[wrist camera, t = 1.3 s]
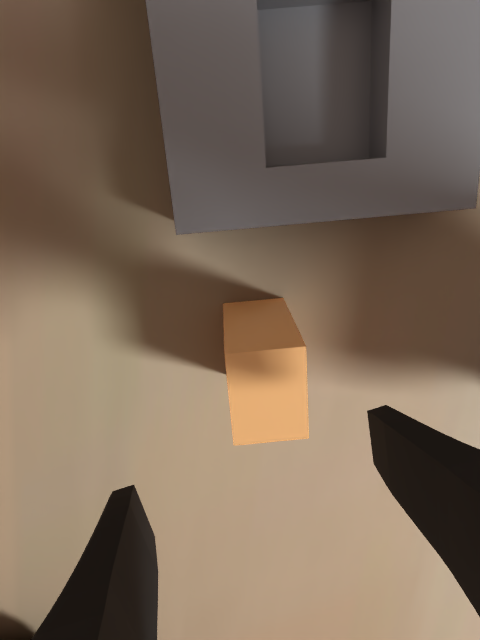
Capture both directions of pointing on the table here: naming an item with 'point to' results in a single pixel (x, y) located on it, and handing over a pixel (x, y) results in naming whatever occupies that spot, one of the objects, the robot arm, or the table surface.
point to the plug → (265, 372)
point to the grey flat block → (316, 109)
